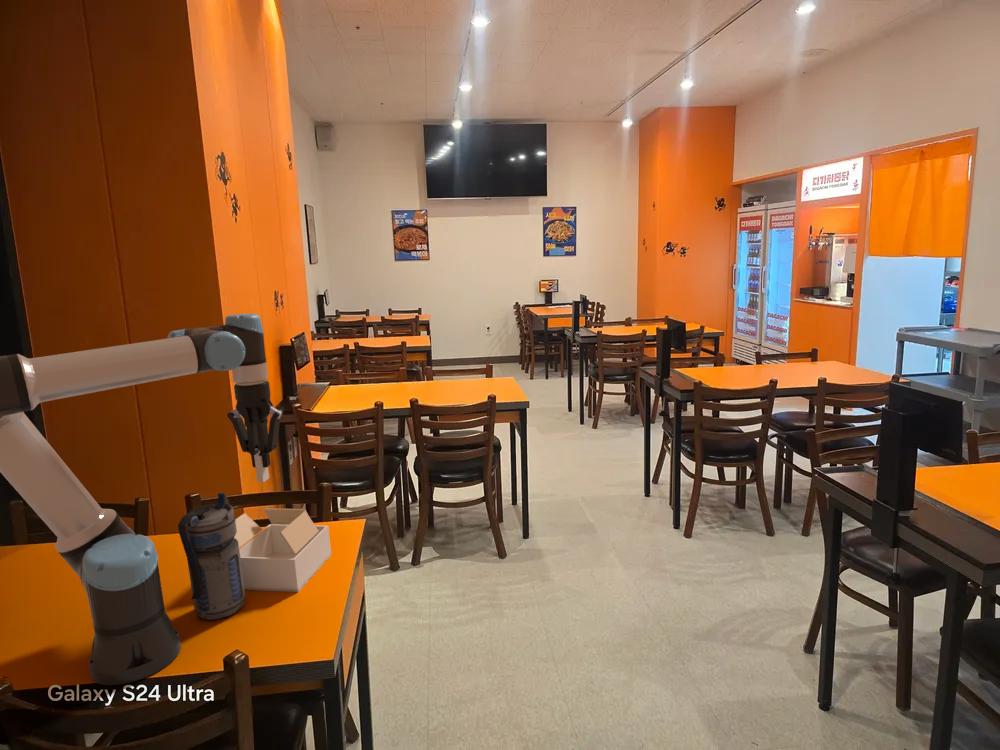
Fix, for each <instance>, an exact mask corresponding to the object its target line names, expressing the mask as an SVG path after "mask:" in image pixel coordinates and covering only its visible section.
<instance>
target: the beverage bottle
mask: <svg viewBox="0 0 1000 750" xmlns="http://www.w3.org/2000/svg"><path fill="white" fill-rule="evenodd" d="M217 497H218V499H217V500H218V501H217V503H209V504H205V505H201V506H197V507H195V508H192V509H190V510H189V511H188V513H186V514H183V516H182V517H181V519H180V520H179V522H178V524H177V528H178V534H179V537H180V538H179V539H180V540H181V543H182V544H181V545H182V547H183V551H184V553H185V555H186V559H187V567H188V573H189V580H190V587H191V595H192V597H191V600H193V601H192V602H193V608H194V613H195V614H196V615H197V616H198V617H199V618H201V619H203V620H209V621H210V620H219V619H222V618H226V617H228V616H231V615H233V614H235V613H237V612H238V611H239V610H240V609H242V608H243V606H244V604H245V601H246V592H245V591H246V590H244V583H243V575H242V567H241V560H240V552H239V549H240V548H239V544H238V541H237V539H235V538H234V537H235V535H236V533H237V529H236V522H235V520H236V515H235V511H234V507H233V505H231V504H230V501H229V499H228V497H227V495H226V494H225V493H223V492H219V493H217Z"/></svg>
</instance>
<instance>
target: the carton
mask: <svg viewBox="0 0 1000 750" xmlns="http://www.w3.org/2000/svg"><path fill="white" fill-rule="evenodd" d="M235 522H236V529H237V533H236V535H235V537H234V538H235V539H237V541H238V544H239V552H240V560H241V567H242V575H243V583H244V590H245V591H246V590H247V591H262V592H263V591H265V592H286V593H299V592H300V591H301V590H302V588H304V587H305V586H306V584H307V583H308V582H309V581H310V580H311V579H310V578H312V577H313V576H315V575H316V573H317V572H318V571H319V570H320V568H321V567H322V566H323V565H324V564H325V563H326V562H327V561H326V560H328V559H330V558H331V556H332V548H331V547H332V546H331V540H330V539H331V538H330V527H329V525H318V524H317V525H316V524H314V525H315V526H316V528H317V529H318V530H319V531H318V532H317V533H316V534H315V535H314V536H313V537H312V538H311V539H310V540H309V541H308V542H307V543H306V544H305V545H304V546H303V547H302V548H301V549H300V550H299V551H298V552H297V553H296V554H294V553H293V552H292V550H291V549H290V547H289V546H288V544H287V543H286V542H285V540H284V539H283V537H282V536H281V534H280V532H281V531H282V530H283V529H285V528H286V527H287V526H288V525H289V524H272V523H270V524H268V525H267V526H266V527H264V529H262V528H261V526H260V525H258V523H256V521H254V520H253V519H252V518H251V517H249V515H248V514H246V513H245V512H244V513H242V514H241V515H240V516H238V517H237V518H235ZM325 561H326V562H325ZM324 562H325V563H324ZM318 569H319V570H318ZM317 570H318V571H317ZM316 571H317V572H316ZM309 579H310V580H309ZM308 580H309V581H308Z"/></svg>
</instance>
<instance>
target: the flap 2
mask: <svg viewBox="0 0 1000 750" xmlns="http://www.w3.org/2000/svg"><path fill="white" fill-rule="evenodd" d="M306 512H307V510H306V511H304V512H303V513H302V514H301V515H300V516H298V517H297V518H296V519H295V520H294V521H293V522H291V523H290V524H287V525H288V526H287V527H286V528H285V529H283V530H282V531H281V532H280V534H281V536H282V537H283V539H284V540H285V542H286V543H287V544H288V546H289V547H290V549H291V550H292V552H293V553H294V554H296V553H297V552H298V551H299V550H300V549H301V548H302V547H303V546H304V545H305V544H306V543H307V542H308V541H309V540H310V539H311V538H312V537H313V536H314V535H315V534H316V533H317V532H318V531H319V530H318V529H317V528H316V526H315V525H316V524H315V523H314V522H313V520H312V518H311V517H310V516H309V513H308V512H307V513H306Z"/></svg>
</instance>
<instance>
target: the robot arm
mask: <svg viewBox="0 0 1000 750" xmlns="http://www.w3.org/2000/svg"><path fill="white" fill-rule="evenodd" d="M224 321H225V322H224V324H222V325H218V326H215V325H214V326H205V327H194V328H183V329H178V330H172V331H170V332H169V333H168V334H167V338H161V339H156V340H155V339H154V340H149V341H142V342H134V343H128V344H121V345H120V344H119V345H112V346H107V347H100V348H93V349H87V350H79V351H73V352H66V353H58V354H52V355H45V356H38V357H31V358H28V357H26V356H24V355H21V354H20V353H16V354H9V355H0V473H1V475H2V476H3V477H4V478H5V480H6V481H8V483H9V484H10V486H12V487H13V488H14V490H15V491H16V492H17V493H18V494H19V495H20V496H21V497H22V499H23V500H24V501H25V502H26V504H27V505H28V506H30V507H31V509H32V510H33V511H34V512H35V513H36V515H37V516H38V518H40V519H41V520H42V521H43V523H44V524H45V525H46V526H47V527H48V528H49V529H50V530H51V532H52V533H53V534H54V535H55V536H56V537H57V538H56V543H55V547H54V548H55V550H56V551H57V553H58V554H59V555H60V556H61V558H62V559H63V560H64V561H65V562H66V563H67V564H68V565H69V566H70V568H71V569H72V570H73V571H74V572H75V573H76V575H77V576H78V578H79V579H80V582H81V584H82V586H83V588H84V590H85V592H86V594H87V595H86V596H87V599H88V603H89V609H90V614H91V619H92V625H93V630H94V631H93V632H94V635H93V636H94V637H93V641H92V646H91V652H90V653H91V654H90V656H89V661H88V669H89V673H90V674H89V675H90V678H91V680H92V681H93V682H95V683H97V684H99V685H102V686H120V685H125V684H129V683H134V682H136V681H139V680H142V679H143V680H144V679H145V678H148V677H149V676H152V675H154V674H156V673H158V672H159V671H162V670H163V669H165V668H166V667H167V666H168V665H170V664H171V663H172V662H174V660H175V659H176V658H177V657H178V656H179V654H180V651H181V649H182V643H181V637H180V633H179V632H178V630H177V629H176V627H174V625H173V623H172V621H171V619H170V617H169V615H168V614H167V612H166V608H165V601H164V595H163V589H162V582H161V581H162V580H161V575H160V568H159V555H158V552H157V550H156V546H155V543H154V542H153V540H152V539H150V538H149V537H148V536H145V535H143V534H136V533H135V531H133V529H131V528H130V527H129V525H127V524H126V522H125V521H124V520H123V519H122V518H121V515H119V514H118V513H117V512H116V511H115V510H114V509H112V508H102V507H101V506H100V504H98V502H97V501H96V500H95V499H94V497H93V496H92V494H91V493H90V492H89V491H88V490H87V489H86V488H85V486H84V485H83V483H82V482H81V481H80V479H78V477H77V476H76V475H75V474H74V472H73V471H72V470H71V468H69V467H68V465H67V464H66V463H65V462H64V460H63V459H62V458H61V456H59V454H58V453H57V451H55V449H54V448H53V447H52V446H51V444H50V442H48V441H47V439H46V438H45V437H44V436H43V434H42V433H41V432H40V431H39V429H37V427H36V426H35V424H34V423H33V422H32V421H31V420H30V419H29V417H28V416H27V415H26V414H25V412H29V411H33V410H34V409H35V408H36V407H37V406H38V405H39V404H41V403H45V402H50V401H55V400H60V399H66V398H71V397H76V396H82V395H88V394H93V393H98V392H103V391H108V390H113V389H120V388H124V387H129V386H134V385H135V386H136V385H140V384H145V383H146V384H147V383H151V382H154V381H160V380H161V381H162V380H167V379H171V378H177V377H181V376H182V377H183V376H188V375H193V374H198V373H199V374H200V373H205V372H206V373H207V372H210V371H220V372H225V371H226V372H227V371H231V375H232V376H231V377H232V382H233V383H235V384H234V385H233V389H234V390H233V391H234V397H235V400H236V404H235V408H234V410H232V411H230V412H228V413H226V415H227V418H228V419H229V420H230V421H231V422H230V423H232V425H233V426H232V427H233V429H234V431H235V435H236V437H237V440H238V443H239V446H240V448H241V451H242V452H243V453H249V454H250V457H251V465H252V468H255V473H256V480H257V481H256V482H257V483H265V482H266V481H267V480H269V479H270V472H269V471H270V470H269V467H271V456H270V455H271V454H270V453H271V452H273V451H274V450H276V449H277V448H278V441H279V432H280V426H281V425H280V424H281V418H282V417H283V414H284V411H283V410H282V409H277V408H276V407H274V404H273V402H272V401H271V388H270V382H269V381H268V379H269V374H268V373H269V372H268V363H267V356H266V344H265V336H264V335H265V332H264V328H263V323H262V319H261V316H260V315H258V314H257V313H239V314H237V313H236V314H230V315H229V314H228V315H226V317H225V319H224ZM268 417H269V418H270V420H269V421H268ZM268 423H269V426H268Z"/></svg>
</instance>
